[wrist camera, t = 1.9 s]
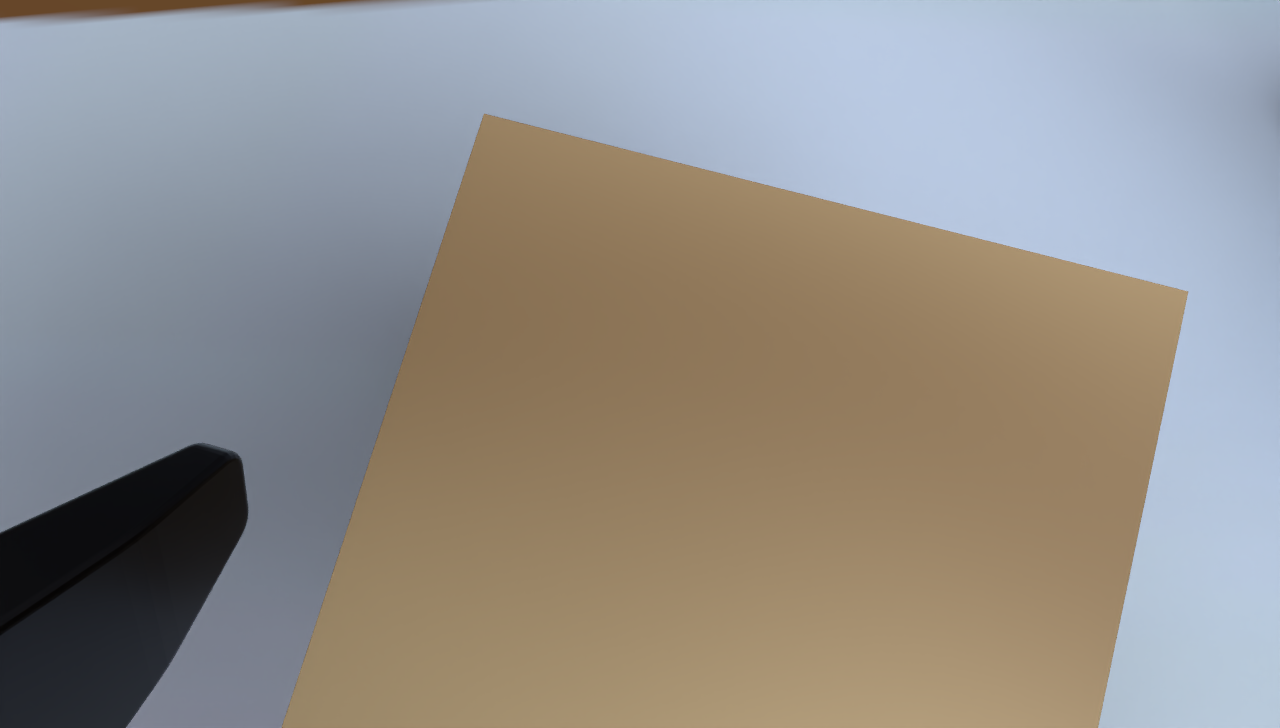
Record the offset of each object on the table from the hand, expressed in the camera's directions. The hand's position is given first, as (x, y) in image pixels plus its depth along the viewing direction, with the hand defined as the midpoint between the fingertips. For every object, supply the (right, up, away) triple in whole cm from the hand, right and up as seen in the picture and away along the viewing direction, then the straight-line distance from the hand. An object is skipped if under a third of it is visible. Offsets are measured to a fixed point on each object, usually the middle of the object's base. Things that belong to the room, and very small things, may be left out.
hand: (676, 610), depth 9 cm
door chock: (+1, -1, +8) cm, 8 cm away
